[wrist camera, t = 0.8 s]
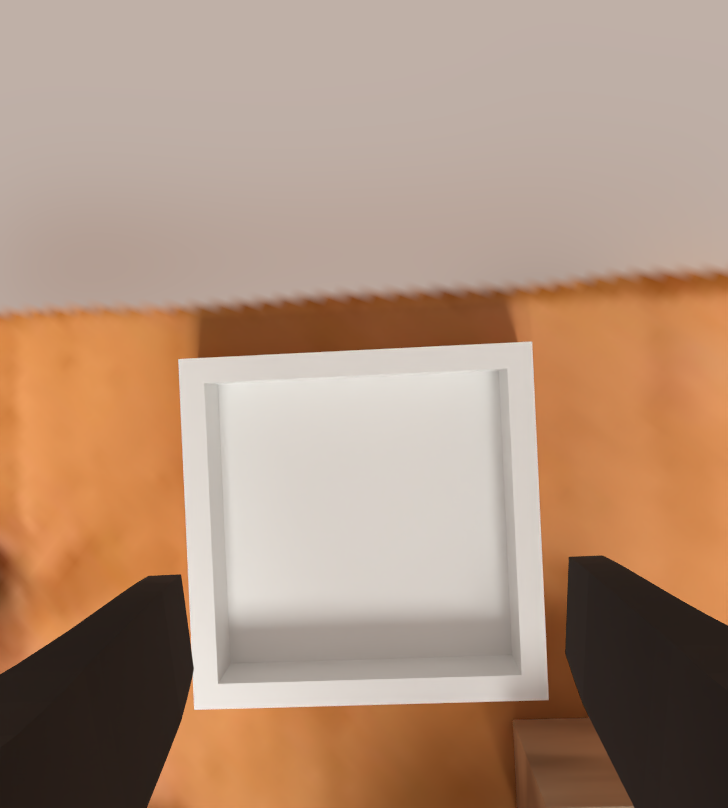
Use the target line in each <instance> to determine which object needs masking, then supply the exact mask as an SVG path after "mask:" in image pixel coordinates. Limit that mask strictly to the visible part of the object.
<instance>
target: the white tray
mask: <svg viewBox="0 0 728 808" xmlns="http://www.w3.org/2000/svg"><path fill="white" fill-rule="evenodd" d="M178 363H179V384H180V406H181V428H182V450H183V472H184V494H185V516H186V538H187V559H188V581H189V603H190V625H191V647H192V659H193V666H194V671H193V691H194V710H201V709H238V708H275V707H312V706H349V705H386V704H423V703H460V702H497V701H533V700H549V694H548V672H547V651H546V629H545V608H544V586H543V565H542V543H541V522H540V501H539V479H538V458H537V436H536V415H535V393H534V372H533V351H532V342H513V343H493V344H473V345H453V346H432V347H412V348H392V349H372V350H352V351H332V352H312V353H292V354H271V355H251V356H231V357H211V358H191V359H178Z"/></svg>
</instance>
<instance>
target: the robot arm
mask: <svg viewBox="0 0 728 808" xmlns="http://www.w3.org/2000/svg"><path fill="white" fill-rule="evenodd" d="M565 654H566V657H567V660H568V663H569V666H570V669H571V672H572V675H573V678H574V681H575V684H576V687H577V689H578V692H579V695H580V698H581V700H582V703H583V705H584V707H585V710H586V712H587V714H588V716H589V718H590V720H591V722H592V724H593V726H594V728H595V730H596V732H597V734H598V736H599V738H600V740H601V742H602V744H603V746H604V748H605V750H606V752H607V754H608V756H609V758H610V760H611V762H612V764H613V766H614V768H615V770H616V772H617V774H618V776H619V778H620V780H621V782H622V784H623V786H624V788H625V790H626V792H627V794H628V796H629V798H630V800H631V802H632V804H633V806H634V808H728V626H727V625H725V624H724V623H722V622H720V621H718V620H716V619H714V618H712V617H710V616H708V615H706V614H705V613H703V612H701V611H699V610H697V609H696V608H694V607H692V606H690V605H688V604H687V603H685V602H683V601H681V600H680V599H678V598H676V597H674V596H673V595H671V594H669V593H668V592H666V591H664V590H662V589H661V588H659V587H657V586H656V585H654V584H652V583H651V582H649V581H647V580H646V579H644V578H642V577H641V576H639V575H637V574H635V573H634V572H632V571H630V570H629V569H627V568H625V567H623V566H622V565H620V564H618V563H616V562H614V561H612V560H611V559H608V558H606V557H604V556H581V557H569V569H568V595H567V622H566V649H565ZM193 671H194V666H193V659H192V651H191V644H190V637H189V630H188V622H187V615H186V608H185V600H184V593H183V586H182V578H181V575H160V576H148V577H146V578H144V579H142V580H141V581H139V582H138V583H136V584H134V585H133V586H131V587H130V588H129V589H127V590H126V591H124V592H123V593H121V594H120V595H119V596H117V597H116V598H114V599H113V600H111V601H110V602H109V603H107V604H106V605H104V606H103V607H102V608H100V609H99V610H97V611H96V612H95V613H93V614H92V615H90V616H89V617H88V618H86V619H85V620H83V621H82V622H80V623H79V624H78V625H76V626H75V627H73V628H72V629H70V630H69V631H68V632H66V633H65V634H63V635H62V636H60V637H58V638H57V639H55V640H54V641H52V642H51V643H49V644H48V645H46V646H45V647H43V648H42V649H40V650H38V651H37V652H35V653H34V654H32V655H31V656H29V657H28V658H26V659H25V660H23V661H22V662H20V663H18V664H17V665H15V666H14V667H12V668H10V669H9V670H7V671H5V672H4V673H2V674H0V808H147V806H148V803H149V801H150V798H151V796H152V793H153V791H154V788H155V786H156V783H157V781H158V778H159V776H160V773H161V771H162V768H163V766H164V763H165V761H166V758H167V756H168V753H169V751H170V748H171V746H172V743H173V741H174V738H175V735H176V733H177V730H178V728H179V725H180V722H181V719H182V715H183V712H184V708H185V704H186V700H187V697H188V692H189V688H190V684H191V680H192V676H193Z"/></svg>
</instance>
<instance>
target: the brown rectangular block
mask: <svg viewBox="0 0 728 808" xmlns="http://www.w3.org/2000/svg"><path fill="white" fill-rule="evenodd" d="M513 736H514V758H515V779H516V801H517V808H634V806H633V804H632V802H631V800H630V798H629V796H628V794H627V792H626V790H625V788H624V786H623V784H622V782H621V780H620V778H619V776H618V774H617V772H616V770H615V768H614V766H613V764H612V762H611V760H610V758H609V756H608V754H607V752H606V750H605V748H604V746H603V744H602V742H601V740H600V738H599V736H598V734H597V732H596V730H595V728H594V726H593V724H592V722H591V720H590V718H555V719H516V720H513Z"/></svg>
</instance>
